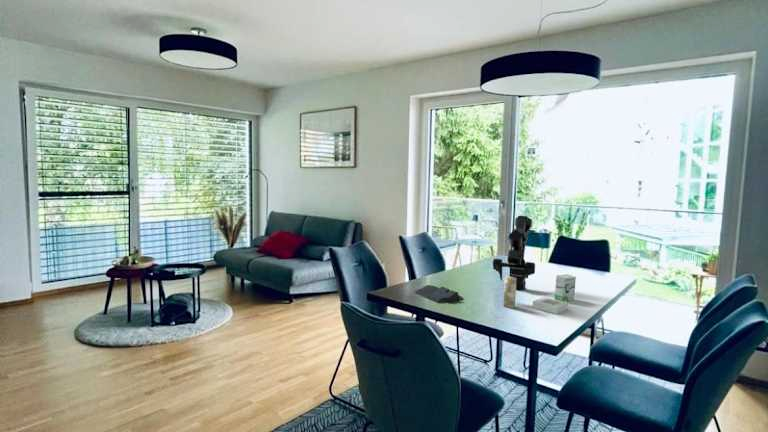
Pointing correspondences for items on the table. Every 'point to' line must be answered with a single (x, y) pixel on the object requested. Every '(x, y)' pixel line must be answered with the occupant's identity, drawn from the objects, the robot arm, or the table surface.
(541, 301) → the grey socket
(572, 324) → the table surface
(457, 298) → the dark slate chunk
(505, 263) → the robot arm
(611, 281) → the table surface
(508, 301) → the birch pin
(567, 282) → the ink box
